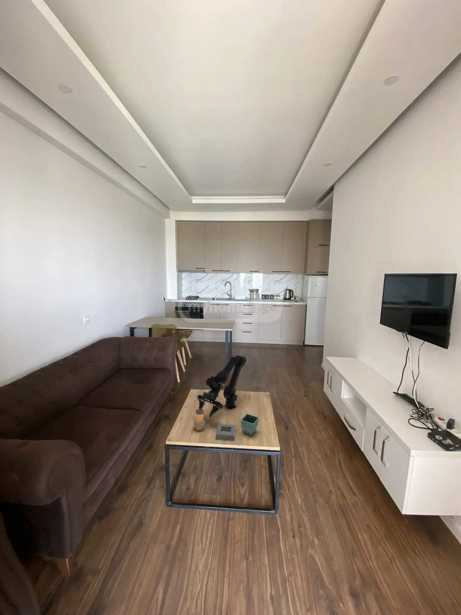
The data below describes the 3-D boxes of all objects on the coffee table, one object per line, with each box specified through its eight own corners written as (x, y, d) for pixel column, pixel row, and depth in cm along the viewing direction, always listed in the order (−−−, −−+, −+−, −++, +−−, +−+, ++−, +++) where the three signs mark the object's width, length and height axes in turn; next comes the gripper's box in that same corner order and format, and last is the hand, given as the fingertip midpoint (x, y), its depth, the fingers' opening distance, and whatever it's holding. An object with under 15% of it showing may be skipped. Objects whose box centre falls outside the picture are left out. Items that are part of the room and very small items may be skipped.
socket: (218, 428, 161) (218, 423, 161) (235, 429, 160) (235, 424, 160) (215, 439, 150) (215, 434, 150) (234, 440, 150) (234, 435, 149)
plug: (204, 424, 165) (205, 407, 163) (205, 431, 158) (205, 413, 156) (193, 425, 163) (193, 408, 162) (193, 432, 156) (193, 414, 155)
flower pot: (258, 430, 160) (259, 417, 159) (253, 438, 152) (253, 424, 151) (246, 426, 164) (246, 413, 163) (240, 433, 156) (240, 420, 155)
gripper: (198, 383, 170) (187, 405, 163) (220, 390, 160) (209, 415, 152) (206, 389, 178) (195, 411, 170) (227, 397, 167) (217, 420, 160)
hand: (204, 414), depth 163 cm, fingers open, 9 cm apart
